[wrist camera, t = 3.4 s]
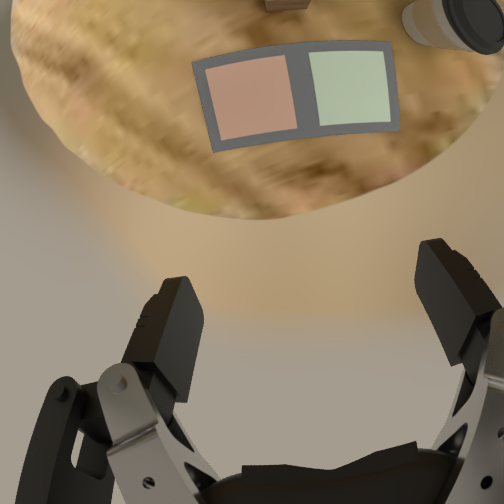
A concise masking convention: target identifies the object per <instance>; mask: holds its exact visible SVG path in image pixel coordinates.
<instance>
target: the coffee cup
mask: <svg viewBox="0 0 504 504" xmlns="http://www.w3.org/2000/svg"><path fill="white" fill-rule="evenodd" d="M402 23H403V26H404V29H405V31H406V32H407V34H408V35H409V36H410V37H411V38H412V39H413V40H414V41H415V42H417V43H419V44H421V45H424V46H435V47H439V48H446V49H454V50H462V51H468V52H478V53H480V54H484V55H489V54H494V53H497V52H498V51H500V50H501V48H502V47H503V45H504V14H503V12H502V10H501V8H500V6H499V5H498V3H497V2H496V1H495V0H416V1H415V2H413V3H411V4H409V5H408V6H406V7H405V8H404V10H403V12H402Z"/></svg>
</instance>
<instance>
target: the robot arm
mask: <svg viewBox="0 0 504 504" xmlns="http://www.w3.org/2000/svg"><path fill="white" fill-rule="evenodd" d="M414 280H415V288H416V292H417V294H418V296H419V298H420V300H421V302H422V304H423V306H424V308H425V310H426V312H427V314H428V316H429V318H430V320H431V322H432V324H433V327H434V329H435V330H436V333H437V335H438V337H439V339H440V342H441V344H442V346H443V348H444V351H445V353H446V356H447V358H448V361H449V363H450V365H451V366H454V365H457V364H460V363H463V365H464V370H463V372H462V374H461V378H460V382H459V385H458V388H457V392H456V395H455V398H454V401H453V404H452V407H451V410H450V413H449V416H448V418H447V421H446V423H445V425H444V427H443V428H442V430H441V431H440V433H439V435H438V436H437V438H436V440H435V442H434V444H433V446H432V449H421V448H420V449H418V448H417V443H416V441H414V442H411V443H407V444H404V445H400V446H396V447H393V448H389V449H385V450H381V451H377V452H374V453H372V454H370V455H367V456H366V457H363V458H361V459H359V460H356V461H354V462H352V463H350V464H347V465H344V466H342V467H339V468H337V469H333V470H324V469H314V468H306V467H299V466H292V465H286V464H283V465H243V466H242V473H239V474H235V475H232V476H229V477H226V478H224V479H222V480H221V479H220V478H219V476H218V475H217V474H216V472H215V471H214V470H213V468H212V467H211V466H210V465H209V464H208V463H207V462H206V461H205V459H204V458H203V457H202V456H201V455H200V453H199V452H198V450H197V449H196V447H195V446H194V444H193V442H192V441H191V439H190V437H189V436H188V434H187V433H186V431H185V429H184V428H183V426H182V424H181V422H180V421H179V419H178V417H177V416H176V414H175V412H174V411H173V409H174V404H175V402H181V403H187V400H188V395H189V390H190V385H191V381H192V376H193V371H194V366H195V361H196V357H197V352H198V347H199V342H200V338H201V333H202V329H203V324H204V316H203V310H202V307H201V305H200V303H199V300H198V298H197V296H196V294H195V291H194V289H193V287H192V284H191V283H190V280H189V278H188V277H186V276H182V277H175V278H167V279H165V280H164V281H163V283H162V286H161V288H160V290H159V293H158V294H154V295H153V296H152V297H151V298H150V300H149V301H148V302H147V303H146V304H145V306H144V308H143V310H142V313H141V315H140V319H138V322H137V324H136V328H135V329H134V331H133V334H132V336H131V338H130V341H129V343H128V346H127V348H126V351H125V353H124V356H123V358H122V361H121V363H118V364H115V365H112V366H111V367H109V368H108V369H106V370H105V371H104V372H103V373H102V375H101V376H100V379H99V381H97V382H94V383H89V384H85V385H79V384H78V383H77V382H76V381H75V380H74V379H73V378H72V377H69V376H65V377H61V378H59V379H57V380H56V381H55V382H54V383H53V384H52V385H51V386H50V388H49V390H48V393H47V395H46V397H45V400H44V403H43V406H42V408H41V411H40V414H39V417H38V419H37V422H36V425H35V428H34V431H33V434H32V437H31V440H30V444H29V447H28V450H27V454H26V457H25V461H24V465H23V469H22V473H21V477H20V481H19V486H18V491H17V495H16V501H15V504H111V499H112V493H113V486H114V481H115V479H116V482H117V484H118V486H119V489H120V491H121V493H122V496H123V498H124V500H125V502H126V504H504V308H502V306H501V305H500V303H499V302H498V300H497V299H496V297H495V296H494V294H493V293H492V291H491V290H490V289H489V287H488V286H487V284H486V283H485V282H484V280H483V279H482V278H480V275H479V274H478V272H477V271H476V270H474V267H473V266H472V264H471V263H470V262H469V261H468V259H467V258H466V257H464V256H463V255H461V254H460V253H458V252H457V251H455V250H453V251H452V250H451V248H450V247H449V246H448V245H447V243H446V242H445V241H444V240H443V239H442V238H437V239H431V240H426V241H422V242H421V243H420V245H419V252H418V259H417V265H416V271H415V279H414ZM78 430H79V431H80V432H82V433H84V438H83V441H82V446H81V449H80V454H79V457H78V461H77V466H76V468H74V466H73V465H72V463H71V454H72V450H73V446H74V442H75V438H76V435H77V431H78Z"/></svg>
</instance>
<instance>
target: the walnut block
mask: <svg viewBox="0 0 504 504" xmlns="http://www.w3.org/2000/svg"><path fill="white" fill-rule="evenodd" d="M310 1H311V0H264V4H265V8H266V12H275V11H284V10H295V9H306V8H307V6H308V5H309V3H310Z"/></svg>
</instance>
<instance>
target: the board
mask: <svg viewBox="0 0 504 504" xmlns="http://www.w3.org/2000/svg"><path fill="white" fill-rule="evenodd" d="M192 66H193V70H194V75H195V79H196V83H197V87H198V92H199V96H200V100H201V104H202V108H203V112H204V117H205V121H206V125H207V129H208V133H209V137H210V141H211V145H212V149H213V153H215V152H220V151H225V150H230V149H236V148H241V147H247V146H253V145H259V144H265V143H272V142H279V141H286V140H294V139H302V138H311V137H320V136H331V135H343V134H357V133H375V132H400V120H399V104H398V92H397V82H396V73H395V66H394V58H393V52H392V46H391V42H383V41H352V40H348V41H316V42H302V43H292V44H282V45H274V46H267V47H261V48H254V49H248V50H243V51H238V52H233V53H228V54H223V55H219V56H215V57H210V58H206V59H202V60H199V61H195V62H192Z"/></svg>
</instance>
